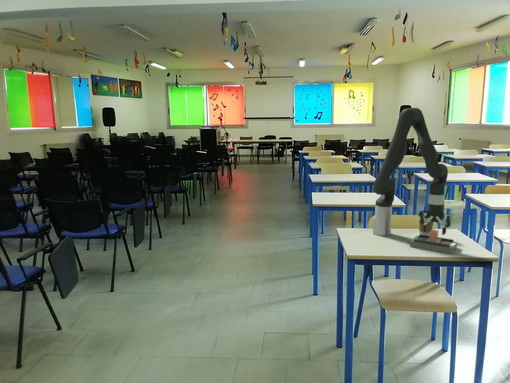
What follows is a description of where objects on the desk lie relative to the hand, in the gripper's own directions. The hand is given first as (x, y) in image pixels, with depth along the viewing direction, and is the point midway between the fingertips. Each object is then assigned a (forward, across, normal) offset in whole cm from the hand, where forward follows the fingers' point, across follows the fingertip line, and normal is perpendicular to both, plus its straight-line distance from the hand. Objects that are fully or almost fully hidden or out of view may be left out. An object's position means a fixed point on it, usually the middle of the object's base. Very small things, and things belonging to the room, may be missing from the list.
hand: (434, 233), depth 201 cm
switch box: (+8, 0, 0) cm, 8 cm away
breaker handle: (+4, 0, 0) cm, 4 cm away
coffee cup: (+8, -8, +16) cm, 20 cm away
